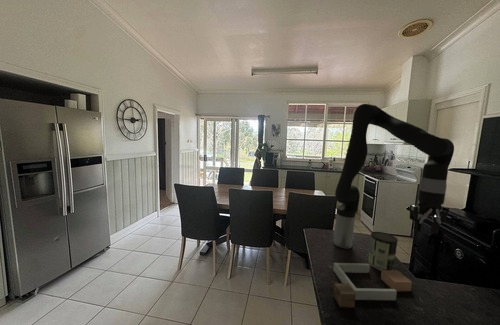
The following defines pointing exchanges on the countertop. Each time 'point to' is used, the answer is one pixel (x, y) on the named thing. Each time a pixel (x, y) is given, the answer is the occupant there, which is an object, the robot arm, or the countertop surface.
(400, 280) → the brown rectangular block
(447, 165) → the robot arm
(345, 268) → the tray
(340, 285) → the walnut block
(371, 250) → the coffee can
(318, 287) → the countertop surface
